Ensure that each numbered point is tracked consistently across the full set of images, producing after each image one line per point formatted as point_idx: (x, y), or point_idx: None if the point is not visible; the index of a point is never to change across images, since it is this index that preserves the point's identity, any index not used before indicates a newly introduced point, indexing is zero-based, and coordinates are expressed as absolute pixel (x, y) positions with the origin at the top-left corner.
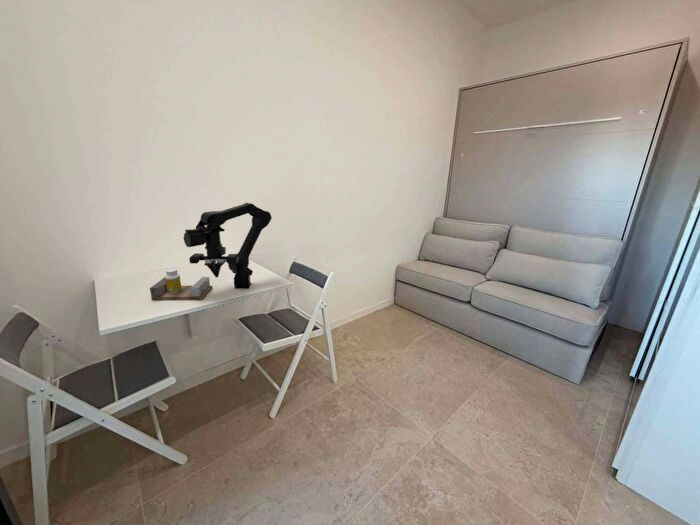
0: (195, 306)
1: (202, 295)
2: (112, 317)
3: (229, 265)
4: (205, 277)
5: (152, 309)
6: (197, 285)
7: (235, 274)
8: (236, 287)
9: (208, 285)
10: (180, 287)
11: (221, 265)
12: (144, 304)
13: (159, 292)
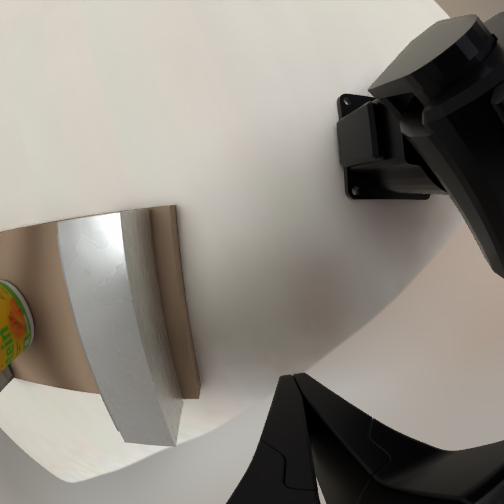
0: (202, 434)
1: (188, 382)
2: (26, 446)
3: (464, 152)
4: (91, 232)
5: (64, 433)
6: (140, 418)
7: (404, 136)
8: (362, 194)
9: (149, 244)
10: (21, 327)
11: (430, 457)
12: (14, 393)
13: (2, 383)
